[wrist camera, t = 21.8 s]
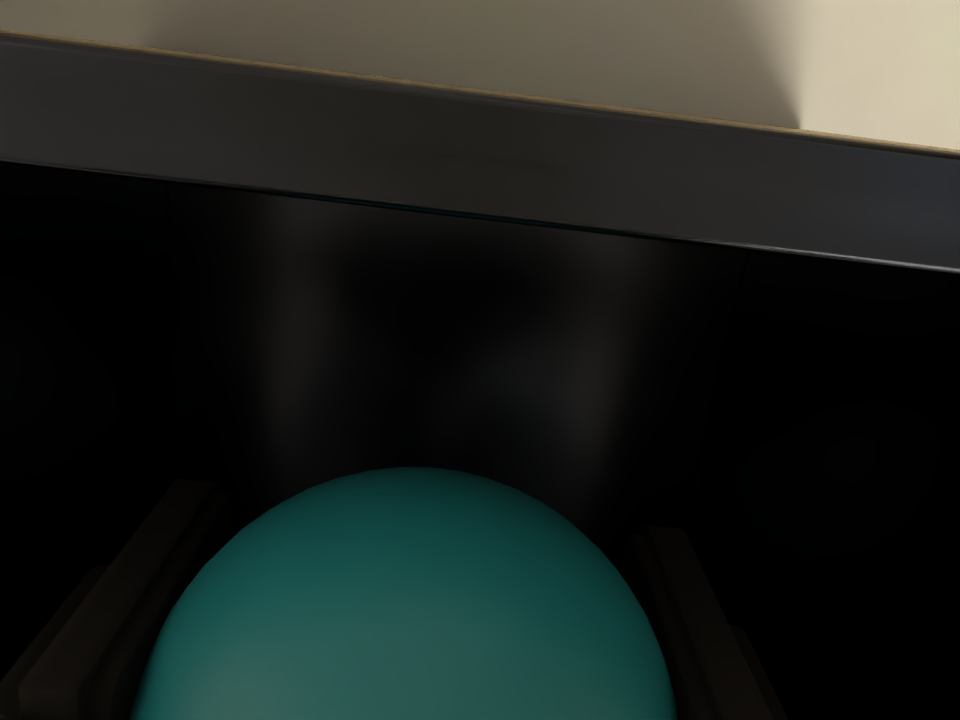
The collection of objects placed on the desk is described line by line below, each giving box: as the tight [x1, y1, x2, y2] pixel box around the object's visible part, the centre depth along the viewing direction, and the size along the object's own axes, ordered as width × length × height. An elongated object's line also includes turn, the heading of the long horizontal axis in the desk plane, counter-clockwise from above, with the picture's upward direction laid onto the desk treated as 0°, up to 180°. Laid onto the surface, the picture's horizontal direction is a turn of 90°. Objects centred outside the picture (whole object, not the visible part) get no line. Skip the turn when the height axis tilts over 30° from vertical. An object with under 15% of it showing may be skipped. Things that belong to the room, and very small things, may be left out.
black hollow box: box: [0, 30, 960, 720], centre depth 13 cm, size 17×14×11 cm
